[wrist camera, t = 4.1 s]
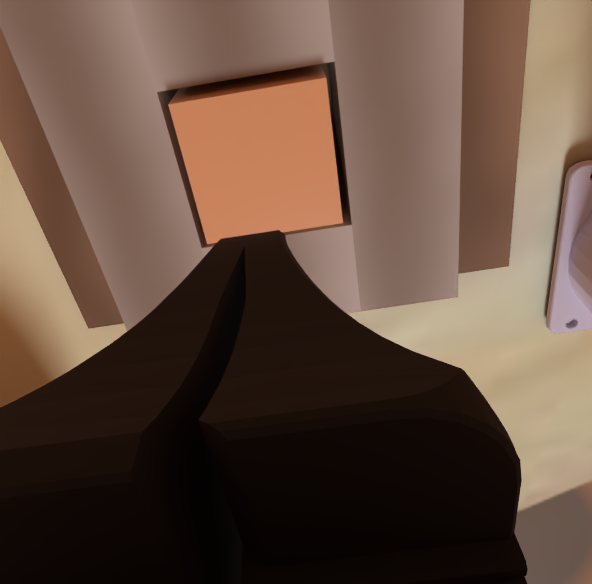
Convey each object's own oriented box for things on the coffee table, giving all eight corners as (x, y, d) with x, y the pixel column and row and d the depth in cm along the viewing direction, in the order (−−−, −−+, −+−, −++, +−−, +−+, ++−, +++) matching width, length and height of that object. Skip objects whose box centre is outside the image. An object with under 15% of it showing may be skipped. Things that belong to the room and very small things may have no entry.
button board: (537, -175, 14) (603, -206, 12) (504, 260, 22) (539, 307, 19) (-82, -56, 15) (-165, -58, 12) (91, 321, 23) (65, 375, 20)
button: (318, 58, 17) (326, 77, 14) (333, 187, 19) (343, 223, 17) (183, 81, 17) (168, 104, 14) (215, 205, 19) (207, 244, 17)
